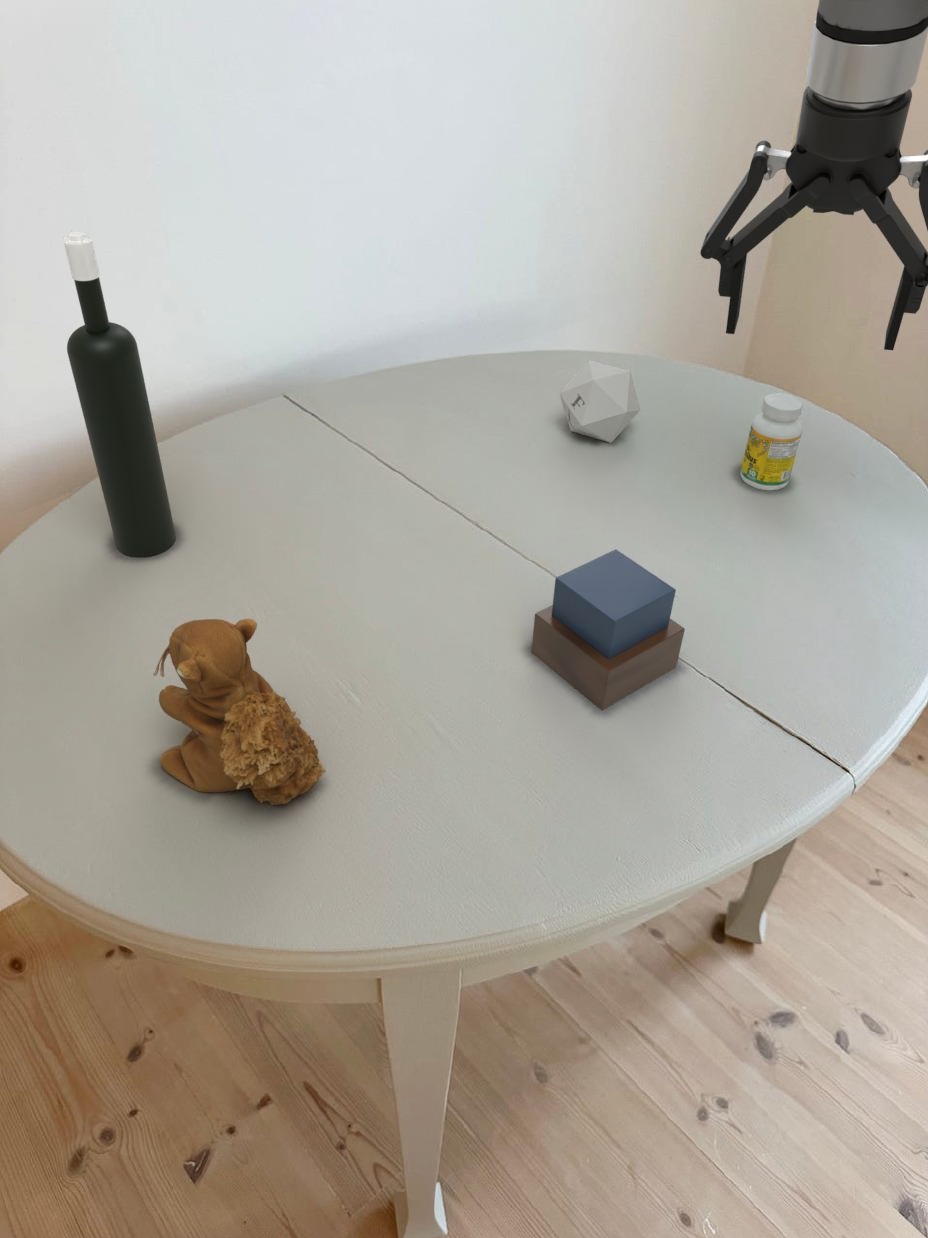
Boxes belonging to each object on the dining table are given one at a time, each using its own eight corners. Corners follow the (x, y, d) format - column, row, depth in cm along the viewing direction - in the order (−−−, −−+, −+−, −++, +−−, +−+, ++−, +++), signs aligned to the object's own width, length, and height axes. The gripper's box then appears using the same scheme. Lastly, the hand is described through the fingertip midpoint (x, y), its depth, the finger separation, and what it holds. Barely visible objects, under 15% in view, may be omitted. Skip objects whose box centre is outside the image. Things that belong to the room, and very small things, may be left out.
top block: (668, 626, 80) (676, 589, 78) (608, 659, 77) (615, 621, 75) (610, 585, 85) (616, 548, 82) (551, 615, 81) (555, 577, 79)
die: (558, 416, 120) (541, 375, 110) (619, 377, 119) (607, 332, 109) (592, 467, 116) (578, 428, 107) (656, 426, 115) (647, 384, 106)
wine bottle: (131, 565, 93) (55, 251, 73) (106, 538, 96) (27, 231, 77) (186, 544, 95) (126, 237, 76) (160, 518, 99) (96, 218, 80)
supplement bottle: (793, 492, 106) (815, 414, 100) (744, 491, 106) (764, 412, 100) (781, 467, 110) (801, 390, 104) (734, 466, 110) (752, 389, 104)
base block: (676, 667, 83) (685, 628, 80) (601, 711, 79) (608, 671, 76) (604, 614, 89) (610, 575, 86) (530, 652, 84) (534, 613, 81)
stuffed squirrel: (251, 691, 80) (230, 564, 71) (364, 783, 72) (355, 654, 64) (145, 754, 74) (109, 624, 66) (256, 862, 67) (231, 731, 58)
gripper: (1048, 66, 68) (961, 321, 85) (695, 59, 75) (678, 295, 92) (1050, 117, 64) (958, 374, 81) (676, 104, 71) (662, 343, 88)
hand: (809, 332), depth 86 cm, fingers open, 13 cm apart
